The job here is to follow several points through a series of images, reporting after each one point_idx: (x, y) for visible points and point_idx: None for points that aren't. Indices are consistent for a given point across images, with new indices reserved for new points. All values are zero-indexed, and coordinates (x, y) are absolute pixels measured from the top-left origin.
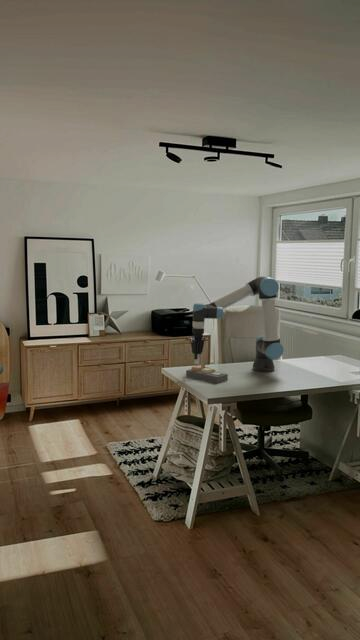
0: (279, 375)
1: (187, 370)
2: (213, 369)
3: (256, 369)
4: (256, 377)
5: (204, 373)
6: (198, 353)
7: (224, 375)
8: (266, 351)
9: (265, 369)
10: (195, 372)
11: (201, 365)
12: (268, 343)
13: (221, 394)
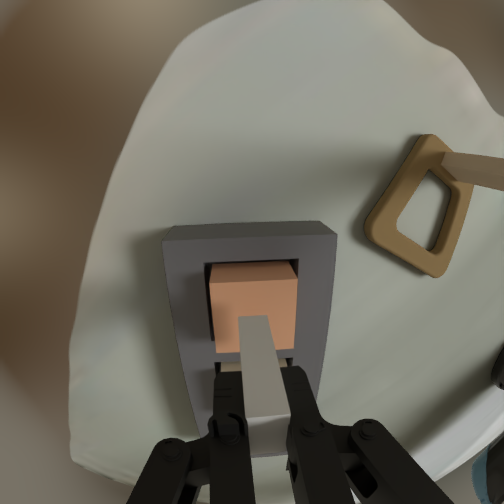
0: (460, 422)
1: (165, 255)
2: (447, 259)
3: (501, 359)
4: (413, 426)
5: (209, 398)
6: (288, 447)
7: (274, 454)
8: (482, 480)
9: (495, 383)
10: (177, 343)
11: (454, 164)
12: (496, 498)
13: (121, 473)
